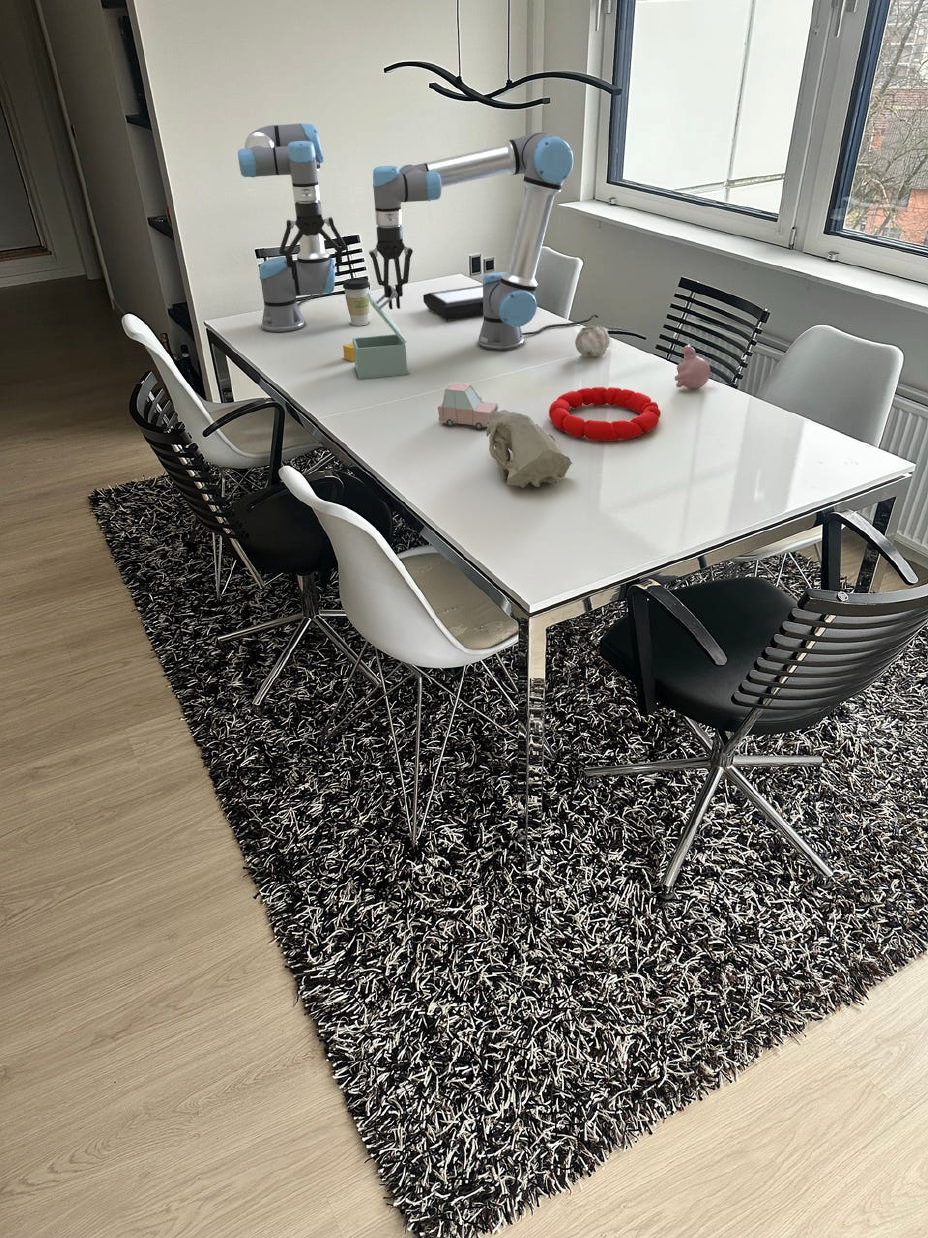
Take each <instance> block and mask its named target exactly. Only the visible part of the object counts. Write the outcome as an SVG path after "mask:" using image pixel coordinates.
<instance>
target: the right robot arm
mask: <svg viewBox="0 0 928 1238" xmlns="http://www.w3.org/2000/svg"><path fill="white" fill-rule="evenodd" d="M573 166H574V153H573V150H572V148H571V147H570V145H569V144H568V143H567V141H565V140H564V139H562V138H561V137H559V136H557V135H551V134H548V133H545V132H533V133H530V134H526V135H523V136H519V137H515V138H513V139H509V140H508V139H507V140H506V141H505V142H504V144H503V145H499V146H493V147H490V148H485V149H481V150H476V151H471V152H468V153H463V154H459V155H455V156H449V157H445V158H439V159H437V160H432V161H428V162H424V163H419V164H415V165H413V164H405V165H402V166H401V167H400V168H399V167H398V166H396V165H380V166H375V168H373V170H372V187H373V199H374V213H375V215H374V216H375V224H376V225H377V226H376V240H377V241H376V244H375V248H374V249H372V250H368V254H369V256H370V258H371V259H372V263H373V269H374V272H375V277H376V281H377V284H378V285H379V286H382V287H383V293H384V294H385V298H386V299H389V298H390V297H391V296H392V294H391V286H392V285H391V284H389V281H390V280H389V278H390V275H389V273H390V260H393V262H394V270H395V275H396V283H397V284H395V285H394V288H395V290H396V292H397V294H398V296H397V298H395V302H396V303H395V304H396V305H395V306H396V309H398V310H400V309H401V300H400V298H401V297H402V298H403V296H404V292H403V285H405V284H408V282H409V276H410V265H411V264H410V263H411V257H412V255H413V253H414V250H413V249H412V247H408V246H406V244H405V243H404V238H403V235H404V234H403V227H402V221H403V220H402V219H403V218H402V203H413V202H414V203H415V202H431V201H437V200H439V199H440V198H441V195H442V188H445V187H450V186H454V185H458V184H463V183H467V182H472V181H477V180H481V179H485V178H490V177H494V176H499V175H502V174H509V175H510V176H515V175H523V174H524V176H523V184H524V186H525V194H524V199H523V203H522V207H521V212H520V216H519V220H518V225H517V229H516V233H515V238H514V242H513V247H512V250H511V255H510V259H509V263H508V268H507V271H500V272H499V271H498V272H490V273H487V274H485V275H484V276H483V278H482V284H481V285H482V286H483V315H482V317H483V318H482V319H483V321H482V325H481V328H480V332H479V336H478V341H477V342H478V346H479V347H481V348H482V349H486V350H490V351H509V350H515V349H518V348H520V347H522V346H523V345H524V336H530V335H536V334H539V333H541V332H543V331H544V330H546V329H549V328H558V327H570V326H574V325H580V324H585V323H587V322H590V321H591V320H592V319H593V318H595V319H598V318H599V315H598V314H597V313H593V314H592V315H590V316H589V318H587V319H586V318H585V319H583V320H578V321H573V322H567V323H555V324H548V325H545V326H542V327H541V328H540V329H537V330H535V331H527V332H526V331H525V332H523V331H522V329H521V327H523V326H525V325H527V324H528V323H530V322H531V321H533V319H534V317H535V315H536V313H537V307H538V306H537V305H538V304H537V300H536V297H535V296H536V292H537V288H538V283H537V281H536V279H535V276H536V273H537V268H538V264H539V260H540V255H541V252H542V248H543V243H544V239H545V235H546V232H547V227H548V222H549V219H550V216H551V211H552V207H553V203H554V199H555V196H556V195H558V194H559V193H560V192H561V191H562V188H563V184H564V181H565V180H566V179H568V177H569V176H570V175H571V172H572V171H573ZM403 252H404V265H403V275H402V270H401V264H400V257H401V256H402V253H403ZM378 253H379V254H380V256H381V257H382V258H383V279H382V274H381V270H380V266H379V262H378ZM384 294H383V295H384ZM388 308H389V310H393V299H392V300H391V301H389V302H388Z"/></svg>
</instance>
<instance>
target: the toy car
mask: <svg viewBox="0 0 928 1238" xmlns="http://www.w3.org/2000/svg"><path fill="white" fill-rule="evenodd" d="M498 409H499V404H498V403H497V402H490V401H489V402H487V401H483V397H481V396H480V395H479V394H478V393H477V391H476V390H475V389H474V386H472V384H469V383H459V382H451V383H450V384H449V385H448V386H447V387H446V388H445V389H444V394H443V399H442V403H440V404H439V405H438V406H437V413H438V421H439V422H443V423H446V425H447V426H448V427H452V426H454V425H455V424H461V425H469V426H473V427H475V429H476V430H479V431H480V430H481V429H483V428H485V427H486V428H487V423H488V422H490V414H491V413H492V412H496V411H499V410H498Z"/></svg>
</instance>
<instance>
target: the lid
mask: <svg viewBox="0 0 928 1238" xmlns="http://www.w3.org/2000/svg"><path fill="white" fill-rule="evenodd" d="M390 286H391V294H392V296H391V297H390V298H389V299H388V298H386V297H385V294H383V295H382V296H380V297H379V298H378V299H377V300H376V299H375V298H374V297H373V295H372V294H371V293H370V291H369V292H368V293H367V294H366V295H367V297H368V299H369V305H370V306H371V307H372V308H373V309H374V310H375V312H376V313H377V314H378V315H379V316H380V317H381V319H382V320H383V321H384V322H385V323H386V324H387V326H388V327H389V328H390V329H391V330H392V331H393V333H394V334H396V335H397V336H398V337H399V338H400V340H401V341H402V342H403V343H404V344H405V345H406V343H407V340H406V338H405V336H404V334H403V332H402V330H401V328H399V327H398V325H397V324H396V323H395V322H394V321H393V320H392V318H391V317H390V316H389V315H388V314H387V312H386V311H385V310H384V307H385V306H386V305H387V304H389V301H391V300H392V301H393V299H396V298H397V296H398V294H397V292H396V290H395V286H393V285H390ZM385 298H386V300H385V301H384V302H383V303H382V304H381V305H380V303H381V302H382V301H383V300H384V299H385Z"/></svg>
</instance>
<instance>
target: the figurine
mask: <svg viewBox="0 0 928 1238" xmlns="http://www.w3.org/2000/svg"><path fill="white" fill-rule="evenodd" d="M682 354H683V358H684V359H683V361H682V362H679V363H678V364H677V365H676V372H677V375H675V376H674V381H675V382H676V381H677V382H676V384H675V386H676V388H681V387H686V388H688V389H693V390H694V389H695V390H696V389H700V388H703V387H704V386H705V385H706V384H707V383H708V382H709V379H710V377H711V367H710V364H709V362H708V361H706V359H704V358H702V357H700V356H697V353H696V350H695V349H694V347H692V345H690V344H686V345H685V346H684V347H683V348H682Z"/></svg>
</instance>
